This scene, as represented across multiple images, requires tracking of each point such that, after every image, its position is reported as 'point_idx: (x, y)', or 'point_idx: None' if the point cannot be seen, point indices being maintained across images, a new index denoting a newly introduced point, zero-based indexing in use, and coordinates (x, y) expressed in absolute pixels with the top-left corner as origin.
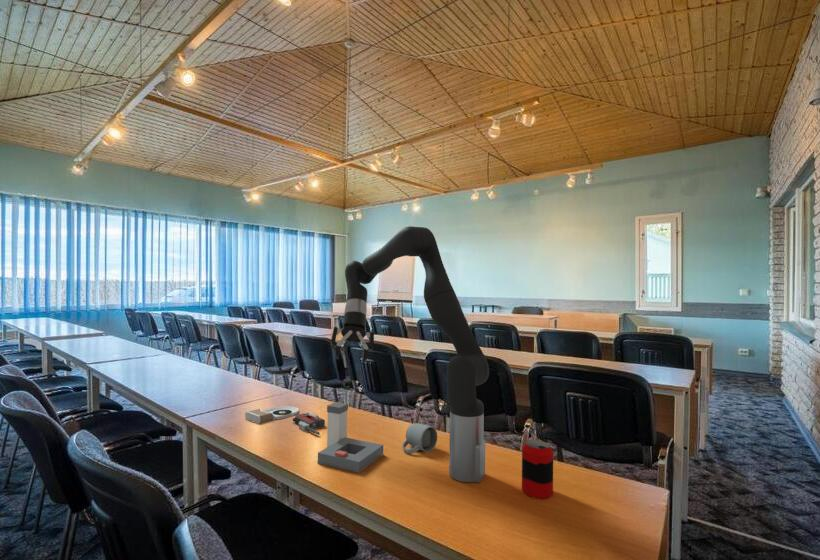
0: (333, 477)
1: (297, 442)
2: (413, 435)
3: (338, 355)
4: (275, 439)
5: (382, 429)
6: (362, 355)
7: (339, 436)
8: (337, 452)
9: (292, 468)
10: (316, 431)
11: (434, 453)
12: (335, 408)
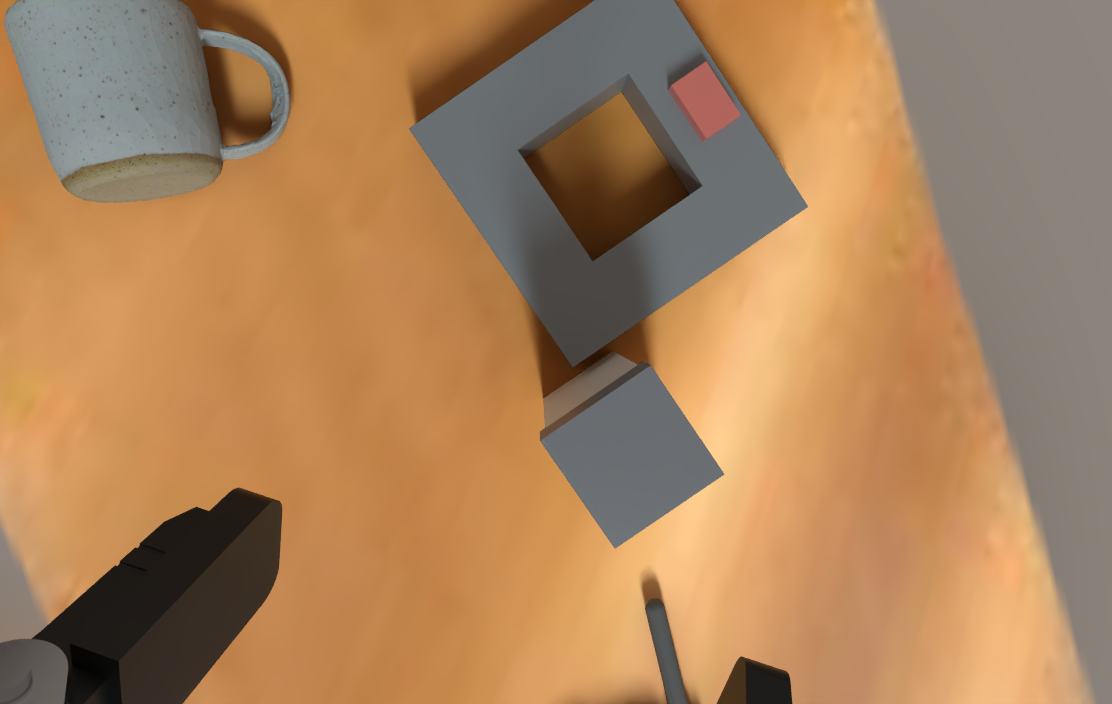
0: (774, 8)
1: (792, 562)
2: (186, 75)
3: (771, 688)
4: (891, 670)
5: None
6: (194, 677)
7: (615, 358)
8: (726, 110)
9: (921, 217)
10: (661, 630)
11: None
12: (672, 400)
